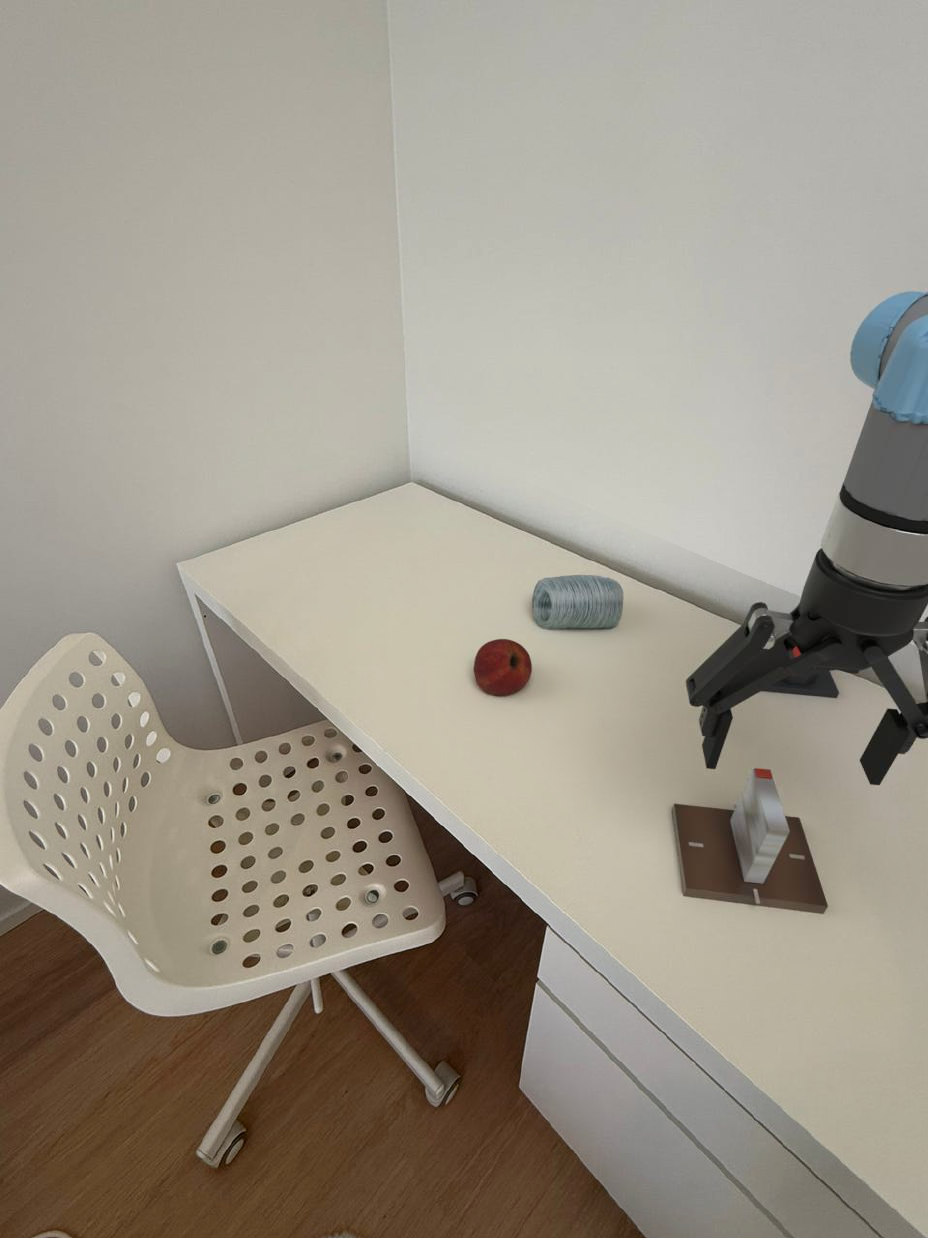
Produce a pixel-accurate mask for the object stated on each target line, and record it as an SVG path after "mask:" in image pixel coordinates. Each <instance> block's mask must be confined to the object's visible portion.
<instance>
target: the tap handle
mask: <svg viewBox="0 0 928 1238" xmlns="http://www.w3.org/2000/svg"><path fill="white" fill-rule="evenodd" d="M735 805H736V808H735V810H734V809H733V810H734V813H733V815H732V818H731V820H730V822H731V827H732V831H733V835H734V840H735V844H736V848H737V853H738V857H739V861H740V865H741V870H742V874H743V878H744V881H745V882H752V883H761V884H763V883H764V881H765V879H766V877H767V875H768V873H769V871H770V869H771V867H772V865H773V863H774V861H775V859H776V857H777V856H778V854H779V852H780V850H781V848H782V846H783V844H784V842H785V840H786V838H787V836H788V834H789V832H790V831H789V827H788V824H787V821H786V818H785V816H786V814H785V812H784V809H783V805H782V802H781V798H780V796H779V793H778V789H777V786H776V783H775V780H774V777H773V773H772V770H771V769H768V768H759V767H754V768H753V767H751V769H750V771H749V774H748V776H747V779H746V781H745V783H744V786H743V788H742V791H741V793H740V796H739V798H738V801H737V802H736V804H735Z"/></svg>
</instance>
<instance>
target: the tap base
mask: <svg viewBox="0 0 928 1238" xmlns="http://www.w3.org/2000/svg"><path fill="white" fill-rule="evenodd" d="M736 805H737V804H733V809H728V808H727V809H726V808H718V807H711V806H710V807H709V806H700V805H691V804H682V803H673V806H672V809H671V817H672V824H673V830H674V837H675V838H674V839H675V846H676V853H677V860H678V861H677V862H678V869H679V875H680V882H681V889H682V896H683V897H685V898H694V899H701V900H711V901H718V902H725V903H732V904H742V905H749V906H757V907H765V908H772V909H780V910H781V909H782V910H787V911H794V912H795V911H796V912H804V913H812V914H819V915H824V914H825V912H826V911H827V909H828V908H829V905H828V902H827V899H826V896H825V895H826V894H825V893H824V890H823V886H822V884H821V880H820V877H819V873H818V871H817V868H816V865H815V862H814V858H813V855H812V853H811V849H810V846H809V842H808V840H807V837H806V833H805V830H804V827H803V824H802V820H801V819H800V817H797V816H789V815H785V818H786V821H787V824H788V827H789V831H790V832H789V834H788V836H787V838H786V840H785V842H784V844H783V846H782V848H781V850H780V852H779V854H778V856H777V857H776V859H775V861H774V863H773V865H772V867H771V869H770V871H769V873H768V875H767V877H766V879H765V881H764V883H763V884H761V883H752V882H745V881H744V878H743V874H742V870H741V865H740V861H739V857H738V853H737V848H736V844H735V840H734V835H733V831H732V827H731V822H730V820H731V818H732V815H733V813H734V810H735V808H736Z"/></svg>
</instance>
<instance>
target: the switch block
mask: <svg viewBox="0 0 928 1238" xmlns="http://www.w3.org/2000/svg"><path fill="white" fill-rule="evenodd" d="M768 649H769V648H765V647H764V648H763V649H762V651H761V652H760V653H759V654H761V653H763V652H764V651H766V650H768ZM759 654H758V655H759ZM758 655H757V656H758ZM755 657H756V656H755ZM755 657H754V658H755ZM761 692H767V693H774V694H787V695H797V696H808V697H819V698H830V699H838V696H839V694H840V691H839V689H838V687H837V684H836V682H835V680H834V678H833V676H832V674H831V671H818V670H815V668H814V667H812V668H811V669H809V670H807V671H805V672H804V673H802V674H800V675H798V676H792V675H789V676H787V677H785V678H783V679H782V680H780V681H778V682H776V683H775V684H773V685H771V686H769V687H768V688H766V689H764V690H762V691H761Z"/></svg>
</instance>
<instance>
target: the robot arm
mask: <svg viewBox="0 0 928 1238" xmlns="http://www.w3.org/2000/svg"><path fill="white" fill-rule="evenodd" d="M850 349H851V350H850V353H849V356H850V357H849V358H850V359H849V361H850V366H851V370H852V372H853V375H854V376H855V377H856V378H857V379H858V380H859V381H860V382H861V383H863V384H864V385H866V386H868V387H869V388H871V389H873V393H872V396H871V397H872V399H871V403H870V406H869V408H868V411H867V413H866V416H865V420H864V423H863V425H862V429H861V431H860V434H859V437H858V439H857V443H856V445H855V448H854V451H853V454H852V457H851V459H850V463H849V465H848V468H847V471H846V473H845V477H844V480H843V482H842V485H841V488H840V490H839V492H838V495H837V498H836V500H835V503H834V505H833V508H832V510H831V514H830V516H829V519H828V522H827V524H826V527H825V530H824V533H823V535H822V538H821V542H820V548H819V549H818V550H817V552H816V553H815V556H814V559H813V562H812V564H811V567H810V570H809V573H808V575H807V576H806V577H807V578H806V580H805V583H804V586H803V588H802V592H801V596H800V600H799V603H798V604H797V605H796V607H794V609H792V610H791V611H790V612H789V613H786V612H781V611H774V610H769V608H768V605H767V604H766V603H765V602H762V601H758V602H755V603H753V604H752V605H751V606H750V607H749V611H748V612H747V614H746V617H745V618H744V621H743V622H742V624H741V625H740V626H739V628H737V629H736V630H735V631H734V632H733V633H732V634H731V635H730V636H729V637H728V638H727V639H726V640H725V641H724V642H723V643H722V644H721V645H720V646H719V647H717V649H715V651H714V652H713V653H711V655H710V656H709V657H707V659H705V660H704V662H703V663H702V664H700V666H698V667H697V668H696V670H694V671H693V673H691V674H690V675H689V676H688V677H687V678H686V680H685V686H686V692H687V697H688V702H689V704H690V705H691V706H692V707H695V708H699V707H701V710H700V714H699V718H698V724H699V727H700V729H699V730H700V733H701V736H702V737H703V740H702V744H701V748H702V753H703V758H704V763H705V769H707V770H708V769H709V770H716V769H717V765H718V763H719V760H720V757H721V754H722V751H723V748H724V745H725V743H726V740H727V736H728V733H729V731H730V728H731V725H732V722H733V719H734V716H733V712H732V709H733V708H734V707H735V706H738V705H740V704H742V703H743V702H744V701H746V700H748V699H750V698H752V697H754V696H755V695H757V694H759V693H761V692H763V691H762V690H764V689H766V688H768V687H769V686H771V685H773V684H775V683H776V682H778V681H780V680H782V679H783V678H785V677H787V676H789V675H792V676H798V675H800V674H802V673H804V672H805V671H807V670H809V669H811V668H812V667H814V668H815V670H818V671H830V672H832V671H840V672H844V673H845V674H859V673H860V671H864V670H865V671H866V670H868V669H870V668H871V669H872V670H873V672H874V674H875V676H876V677H877V679H878V680H879V682H880V683H881V684H882V685H883V687H884V688H885V690H886V691H887V693H888V694H889V696H890V697H891V699H892V701H893V703H894V704H895V705H896V707H897V708H888V707H887V709H886V710H885V712H884V714H883V716H882V718H881V719H880V721H879V723H878V725H877V727H876V729H875V731H874V732H873V734H872V736H871V737H870V740H869V741H868V743H867V745H866V747H865V749H864V751H863V753H862V755H861V756H860V758H859V763H860V765H861V767H862V769H863V772H864V774H865V776H866V779H867V780H868V783H869V785H870V786H872V785H873V786H880V785H881V784H882V782H883V780H884V779H885V777H886V775H887V774H888V772H889V770H890V768H891V767H892V765H893V764H894V762H895V760H896V758H897V756H898V755H905V754H906V753H908V752H909V751H910V749H912V746H913V745H914V743H915V742H916V740H917V739H919V740H926V739H928V616H926V617H925V619H924V620H923V621H921V618H922V616H923V615H924V613H925V611H926V608H927V607H928V291H926V292H925V291H924V292H923V291H914V290H911V291H909V290H908V291H904V292H903V291H902V292H898V293H895V294H893V295H892V296H890V297H888V298H886V299H884V300H883V301H881V302H880V303H879V304H877V305H876V306H875V307H874V308H873V309H872V310H871V311H870V312H869V313H868V314H867V315H866V316H865V318H864V319H863V320H862V321H861V323H860V325H859V326H858V328H857V330H856V332H855V334H854V337H853V339H852V343H851V348H850ZM784 632H786V633H784ZM781 633H783V635H781V636H780V637H778V638H776V637H777V636H778V635H779V634H781ZM912 641H913V643H914V645H915V646H916V648H917V649H918V657H919V661H920V670H921V676H922V681H923V682H922V683H923V689H924V693H925V694H924V696H925V700H926V701H925V702H917V701H916V700H915V698H914V696H913V695H912V694H911V691H910V690H909V689H908V687H907V686H906V683H905V682H904V680H903V679H902V677H901V676H900V674H899V673H898V670H896V667H895V666H894V664H893V663H892V661H891V660H890V658H889V657H890V656H893V655H894V654H895V653H897V652H898V651H900V650H902V649H903V648H905V647H907V646H908V645H909V644H910V643H911V642H912ZM767 643H773V645H772V646H771V647H770V648H767V649H768V650H766V651H764V652H763V653H761V654H759V653H760V652H761V651H762V649H763V648H764V649H765V647H766V646H767ZM796 646H797V648H798V650H799V652H800V653H801V655H799V656H797V657H795V655H794V653H793V649H794V648H795V647H796ZM758 654H759V655H758ZM757 655H758V656H757ZM755 656H756V657H755ZM754 657H755V658H754Z"/></svg>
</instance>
